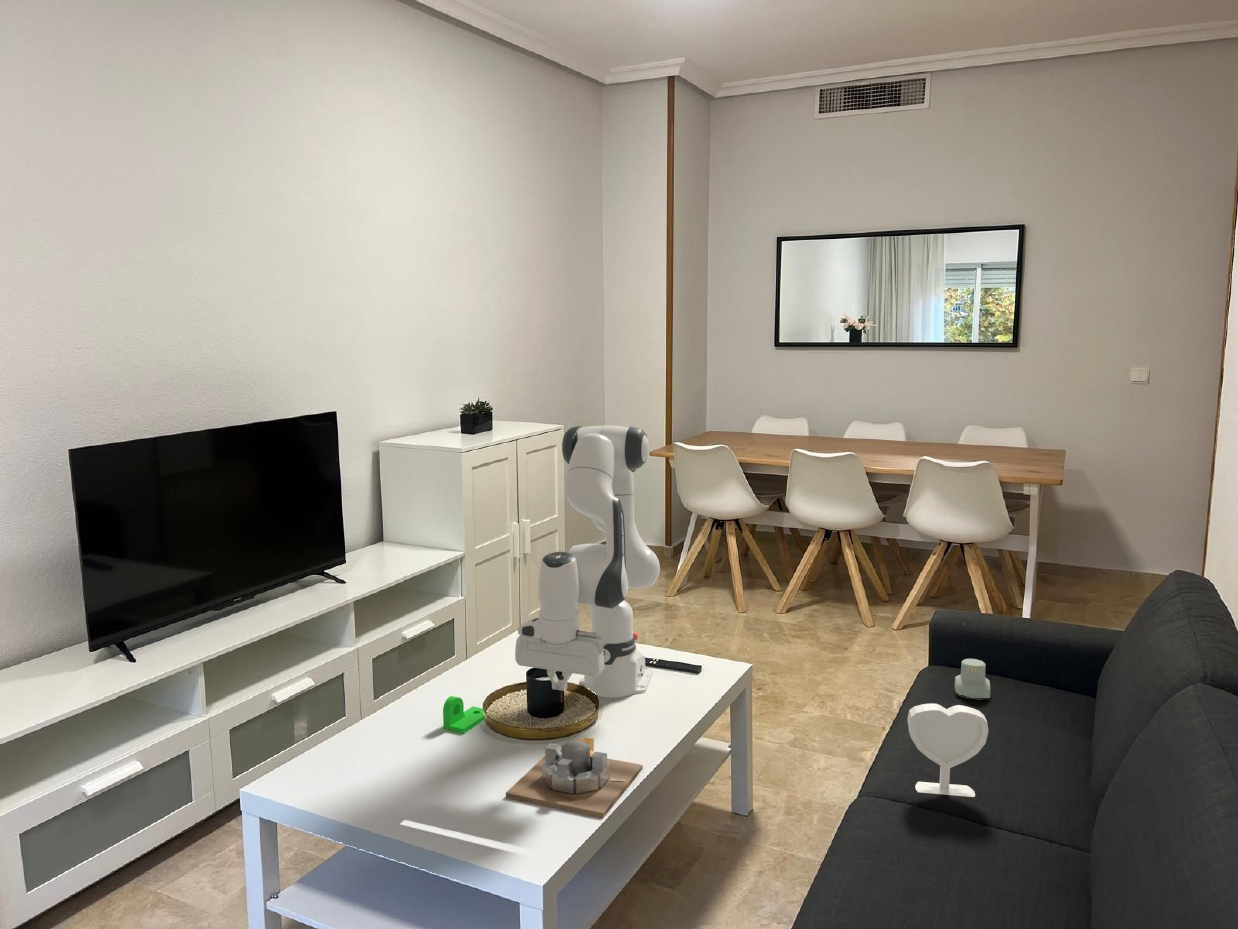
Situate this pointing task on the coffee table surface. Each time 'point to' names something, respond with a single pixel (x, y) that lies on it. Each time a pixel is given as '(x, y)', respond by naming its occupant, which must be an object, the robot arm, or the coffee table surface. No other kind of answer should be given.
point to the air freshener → (972, 680)
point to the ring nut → (561, 770)
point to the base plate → (586, 802)
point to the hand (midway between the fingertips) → (559, 689)
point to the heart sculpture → (947, 741)
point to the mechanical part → (460, 716)
